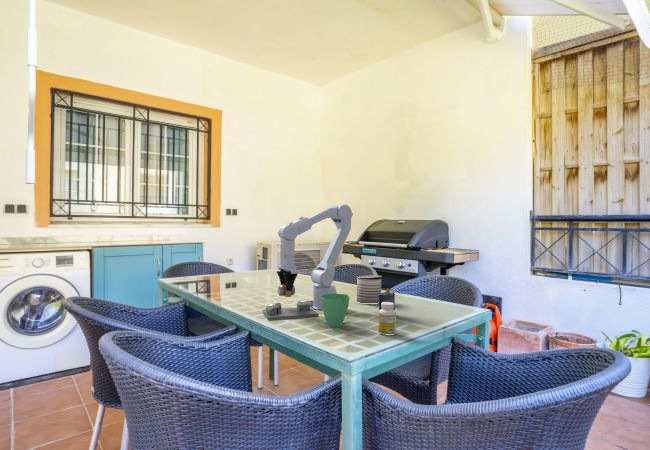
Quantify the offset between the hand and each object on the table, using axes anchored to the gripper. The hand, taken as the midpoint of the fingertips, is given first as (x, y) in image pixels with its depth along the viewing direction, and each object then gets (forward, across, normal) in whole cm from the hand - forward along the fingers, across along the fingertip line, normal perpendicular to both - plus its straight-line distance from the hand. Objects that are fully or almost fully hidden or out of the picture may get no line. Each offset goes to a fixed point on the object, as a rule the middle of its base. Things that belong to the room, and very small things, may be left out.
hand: (286, 289), depth 142 cm
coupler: (+2, 0, 0) cm, 3 cm away
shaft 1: (+8, +5, -7) cm, 12 cm away
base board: (+8, +6, -1) cm, 10 cm away
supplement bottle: (+9, +41, +18) cm, 46 cm away
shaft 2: (+8, +5, +6) cm, 11 cm away
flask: (+9, +24, +31) cm, 40 cm away
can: (+9, 0, +40) cm, 41 cm away
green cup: (+9, +25, +9) cm, 28 cm away
